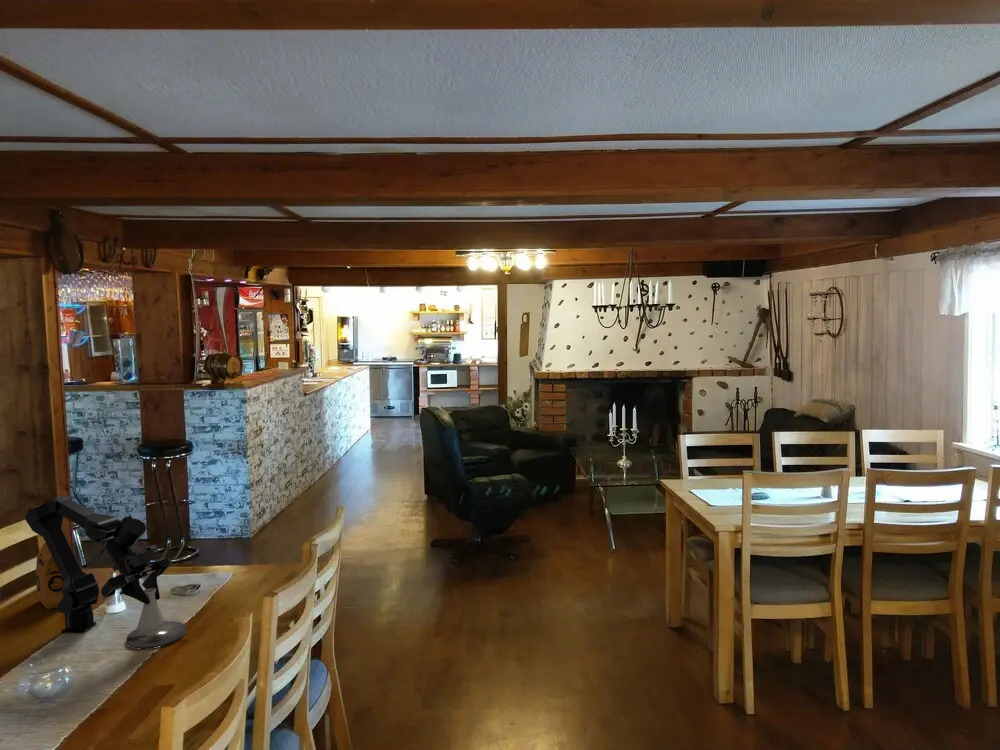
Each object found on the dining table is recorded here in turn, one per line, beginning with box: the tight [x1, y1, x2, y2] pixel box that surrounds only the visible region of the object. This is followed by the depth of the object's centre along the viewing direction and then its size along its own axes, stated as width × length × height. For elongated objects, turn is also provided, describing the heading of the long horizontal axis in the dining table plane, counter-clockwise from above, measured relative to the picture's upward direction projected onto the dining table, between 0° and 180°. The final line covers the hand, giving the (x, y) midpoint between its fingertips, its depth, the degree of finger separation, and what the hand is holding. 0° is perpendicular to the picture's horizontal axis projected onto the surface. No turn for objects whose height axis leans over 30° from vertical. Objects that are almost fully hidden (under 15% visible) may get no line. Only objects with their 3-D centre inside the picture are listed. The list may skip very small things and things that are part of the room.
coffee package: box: [35, 542, 64, 610], centre depth 218 cm, size 10×12×22 cm
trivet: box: [126, 620, 187, 650], centre depth 194 cm, size 15×15×1 cm
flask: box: [136, 588, 167, 631], centre depth 188 cm, size 7×7×10 cm
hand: (153, 601), depth 188 cm, fingers closed on flask, 3 cm apart
